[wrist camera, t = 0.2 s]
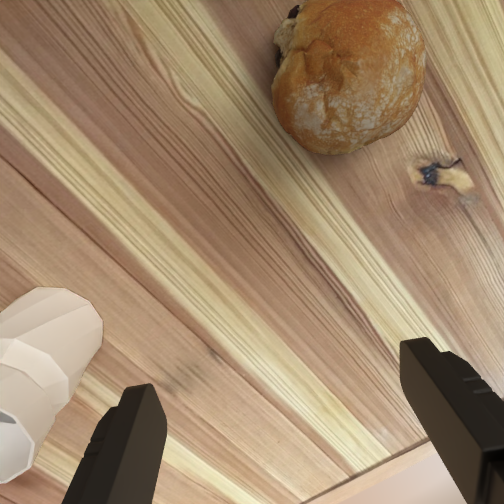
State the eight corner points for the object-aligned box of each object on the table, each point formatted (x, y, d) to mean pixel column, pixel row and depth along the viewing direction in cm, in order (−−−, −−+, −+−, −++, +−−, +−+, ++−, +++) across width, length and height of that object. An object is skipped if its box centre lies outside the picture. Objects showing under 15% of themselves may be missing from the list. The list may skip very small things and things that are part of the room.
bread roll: (289, 151, 29) (325, 204, 24) (233, 34, 22) (266, 73, 16) (393, 88, 27) (457, 130, 22) (370, -62, 20) (459, -55, 15)
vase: (-9, 318, 31) (-148, 434, 20) (53, 268, 29) (-62, 364, 18) (64, 374, 34) (-21, 502, 23) (125, 331, 32) (64, 448, 21)
